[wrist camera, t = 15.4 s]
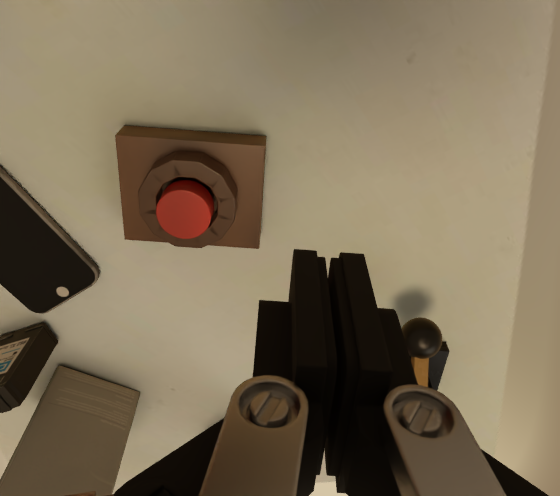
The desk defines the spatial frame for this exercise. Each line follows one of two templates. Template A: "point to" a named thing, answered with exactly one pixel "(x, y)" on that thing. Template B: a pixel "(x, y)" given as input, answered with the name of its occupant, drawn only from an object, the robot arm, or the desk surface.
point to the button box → (196, 167)
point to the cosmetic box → (72, 438)
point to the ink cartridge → (22, 362)
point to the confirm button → (185, 209)
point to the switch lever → (421, 345)
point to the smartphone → (38, 253)
